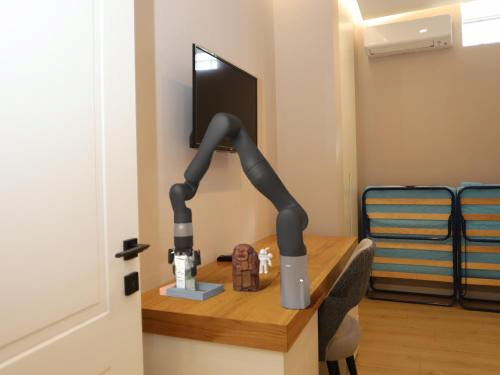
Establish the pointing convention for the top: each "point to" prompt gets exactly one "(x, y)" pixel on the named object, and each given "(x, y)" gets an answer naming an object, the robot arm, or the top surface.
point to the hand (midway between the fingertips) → (184, 275)
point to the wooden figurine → (245, 268)
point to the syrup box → (184, 273)
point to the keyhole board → (209, 290)
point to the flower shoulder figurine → (264, 260)
